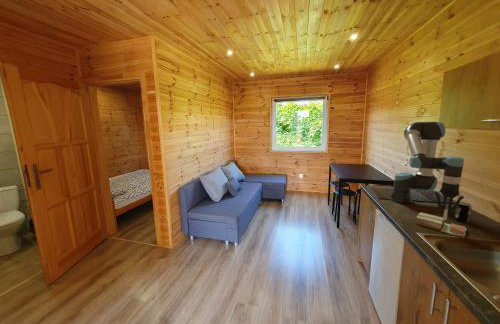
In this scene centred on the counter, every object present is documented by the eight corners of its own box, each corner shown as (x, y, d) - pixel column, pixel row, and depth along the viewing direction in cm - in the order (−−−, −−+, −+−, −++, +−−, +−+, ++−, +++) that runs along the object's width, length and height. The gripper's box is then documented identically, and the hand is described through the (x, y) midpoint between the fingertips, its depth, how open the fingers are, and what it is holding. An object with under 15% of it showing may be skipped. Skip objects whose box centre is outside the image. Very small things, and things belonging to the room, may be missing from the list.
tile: (465, 226, 124) (464, 229, 124) (451, 223, 128) (450, 226, 128) (463, 232, 118) (463, 235, 118) (449, 228, 122) (449, 231, 123)
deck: (419, 217, 141) (420, 212, 141) (442, 223, 132) (443, 217, 132) (415, 223, 134) (416, 217, 133) (440, 230, 125) (441, 224, 124)
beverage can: (451, 218, 140) (454, 201, 137) (463, 218, 138) (466, 202, 136) (459, 222, 133) (463, 205, 131) (471, 223, 132) (475, 205, 130)
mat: (444, 223, 133) (444, 222, 133) (466, 229, 125) (466, 228, 125) (440, 231, 124) (440, 230, 124) (464, 237, 116) (464, 237, 116)
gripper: (435, 181, 125) (429, 217, 129) (466, 186, 115) (459, 225, 120) (437, 179, 130) (432, 214, 134) (467, 183, 120) (460, 220, 124)
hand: (444, 219), depth 127 cm, fingers closed
